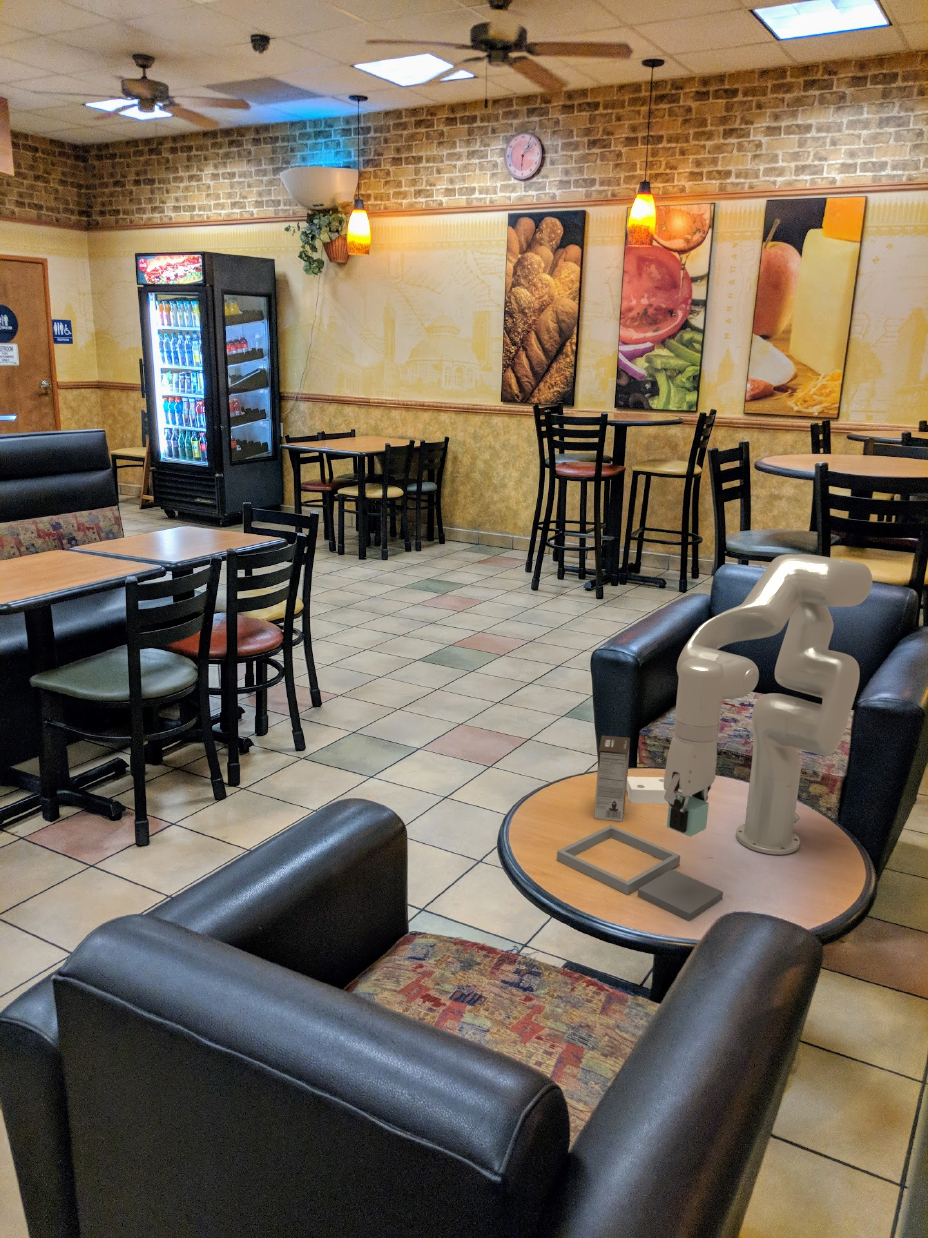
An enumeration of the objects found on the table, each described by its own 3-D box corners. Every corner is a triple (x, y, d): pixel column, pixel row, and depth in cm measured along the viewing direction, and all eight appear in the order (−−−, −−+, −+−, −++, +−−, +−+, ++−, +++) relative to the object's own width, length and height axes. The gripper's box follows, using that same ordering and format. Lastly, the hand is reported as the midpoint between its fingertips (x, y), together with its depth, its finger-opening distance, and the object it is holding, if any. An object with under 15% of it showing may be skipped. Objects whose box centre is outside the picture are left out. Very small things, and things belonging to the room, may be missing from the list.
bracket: (680, 792, 219) (683, 761, 217) (688, 805, 212) (691, 774, 210) (624, 790, 218) (627, 760, 217) (630, 804, 212) (632, 772, 210)
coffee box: (596, 801, 212) (601, 734, 208) (625, 804, 211) (630, 737, 207) (593, 819, 203) (598, 749, 199) (623, 822, 202) (629, 752, 198)
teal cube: (682, 819, 173) (684, 793, 172) (706, 828, 169) (708, 802, 168) (666, 827, 169) (669, 801, 168) (690, 837, 166) (693, 810, 165)
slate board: (671, 876, 180) (672, 869, 180) (722, 899, 173) (723, 892, 172) (637, 896, 173) (638, 888, 173) (689, 921, 165) (689, 913, 165)
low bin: (609, 834, 197) (610, 825, 196) (679, 864, 185) (680, 855, 184) (556, 860, 185) (557, 851, 184) (627, 895, 173) (628, 885, 173)
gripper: (703, 713, 173) (694, 804, 178) (649, 734, 162) (641, 832, 166) (740, 724, 168) (730, 818, 172) (687, 747, 156) (677, 847, 161)
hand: (686, 824), depth 169 cm, fingers closed on teal cube, 5 cm apart
